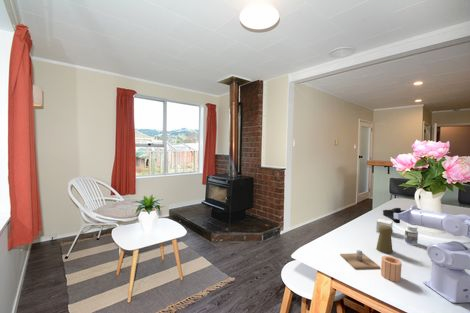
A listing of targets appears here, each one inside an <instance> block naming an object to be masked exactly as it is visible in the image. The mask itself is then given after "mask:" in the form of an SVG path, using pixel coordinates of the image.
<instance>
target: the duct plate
mask: <svg viewBox="0 0 470 313" xmlns="http://www.w3.org/2000/svg"><path fill="white" fill-rule="evenodd" d="M339 255H341V256H342V257H341V256H340V257H341V258H342V259H343V260H345V261H346V262H347V263H348V264H349V266H351V267H352V268H353V269H354V270H364V269H365V270H367V269H368V270H369V269H381V265H379V264H378V263H376V262H375V261H374V260H372V259H371V258H370V257H369V256H367V255H366V254H365V253H364V252H363V251H362V250H360V249H357V250H356V252H355V253H340V254H339Z"/></svg>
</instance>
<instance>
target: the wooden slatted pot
mask: <svg viewBox="0 0 470 313" xmlns="http://www.w3.org/2000/svg"><path fill="white" fill-rule="evenodd" d="M380 264H381V265H380V275H381V276H382V277H383V278H384V279H387V280H388V281H391V282H394V283H395V282H400V281H401V280H402V266H403V263H402V261H401V260H400V259H398V258H396V257H394V256H389V255H384V256H381V263H380Z"/></svg>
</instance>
